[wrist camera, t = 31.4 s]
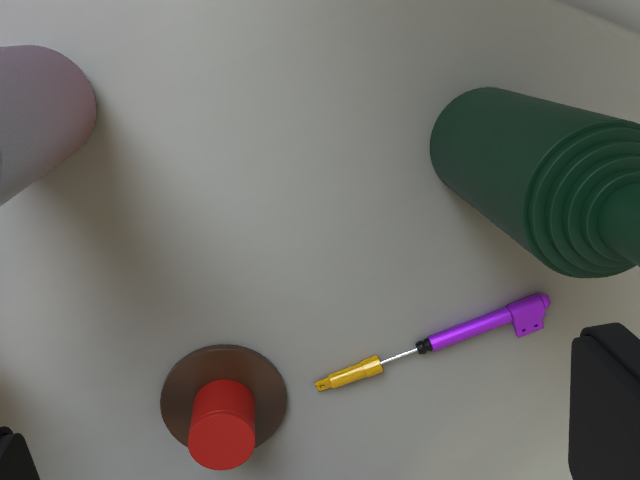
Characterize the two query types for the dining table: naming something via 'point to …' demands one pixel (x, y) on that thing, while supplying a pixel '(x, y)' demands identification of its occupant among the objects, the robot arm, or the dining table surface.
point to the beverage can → (40, 114)
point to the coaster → (218, 366)
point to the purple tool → (453, 337)
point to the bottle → (546, 177)
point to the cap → (222, 425)
